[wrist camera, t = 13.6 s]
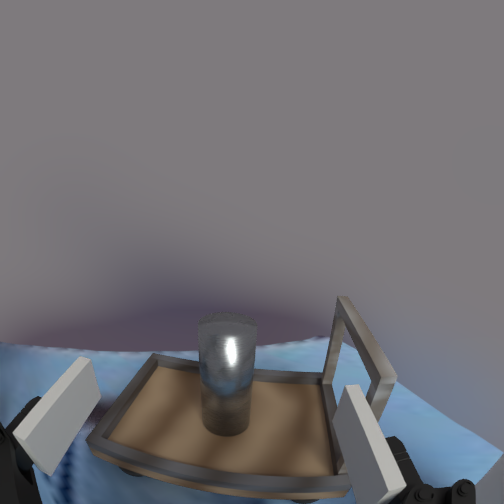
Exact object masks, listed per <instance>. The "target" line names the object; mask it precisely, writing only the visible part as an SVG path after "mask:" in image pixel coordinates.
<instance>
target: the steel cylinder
mask: <svg viewBox="0 0 504 504" xmlns="http://www.w3.org/2000/svg"><path fill="white" fill-rule="evenodd" d="M256 335H257V323H256V322H255V320H253V319H252V318H250V317H248V316H246V315H243V314H238V313H231V312H221V313H220V312H219V313H213V314H209V315H206V316H204V317H202V318H201V319H200V320H199V322H198V340H199V370H200V389H201V406H202V420H203V425H204V426H205V428H206V429H207V430H208V431H209V432H211V433H213V434H215V435H218V436H223V437H231V436H236V435H239V434H241V433H243V432H244V431H245V430H246V429H247V428H248V426H249V423H250V412H251V400H252V388H253V375H254V363H255V350H256Z"/></svg>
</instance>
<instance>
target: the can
mask: <svg viewBox="0 0 504 504" xmlns="http://www.w3.org/2000/svg"><path fill="white" fill-rule="evenodd" d="M475 489H476V504H504V454H503V455H502V456H501V457H500V458H499V460H498V461H497V462H496V463H495V464H494V466H493V467H492V468H491V469H490V470H489V471H488V472H487V473H486V474H485V476H484V477H483V478H482V479H481V480H480V481H479V482H478V483H477V484H476V485H475Z"/></svg>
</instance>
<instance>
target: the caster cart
mask: <svg viewBox="0 0 504 504" xmlns="http://www.w3.org/2000/svg"><path fill="white" fill-rule="evenodd" d="M345 326H346V328H347V330H348V332H349V334H350V335H351V338H352V340H353V342H354V344H355V346H356V348H357V351H358V353H359V355H360V357H361V359H362V361H363V363H364V366H365V368H366V370H367V372H368V374H369V377H370V379H371V384H370V387H369V390H368V392H367V395H366V400H367V402H368V404H369V406H370V408H371V410H372V412H373V414H374V416H375V419H376V421H377V423H378V421H379V419H380V417H381V415H382V413H383V411H384V408H385V406H386V404H387V401H388V399H389V397H390V394H391V392H392V389H393V387H394V384H395V382H396V379H397V374H396V372H395V371H394V369H393V367H392V366H391V364H390V363H389V361H388V359H387V358H386V356H385V354H384V353H383V351H382V349H381V348H380V346H379V344H378V343H377V341H376V340H375V338H374V336H373V335H372V333H371V332H370V330H369V329H368V327H367V325H366V324H365V322H364V321H363V319H362V318H361V316H360V315H359V313H358V311H357V310H356V309H355V307H354V305H353V304H352V302H351V301H350V300H349V298H348V297H345V296H337V302H336V308H335V315H334V320H333V325H332V331H331V336H330V341H329V346H328V351H327V355H326V360H325V365H324V369H323V373H320V372H293V371H277V370H264V369H254V375H253V388H252V400H251V412H250V423H249V426H248V428H247V429H246V430H245V431H244V432H243V433H241V434H239V435H236V436H231V437H223V436H218V435H215V434H213V433H211V432H209V431H208V430H207V429H206V428H205V426H204V425H203V420H202V406H201V389H200V370H199V362H198V361H192V360H186V359H180V358H175V357H170V356H165V355H160V354H155V353H153V354H152V355H151V356H150V357H149V359H148V360H147V361H146V362H145V364H144V365H143V366H142V368H141V369H140V370H139V371H138V373H137V374H136V375H135V376H134V378H133V379H132V380H131V382H130V383H129V384H128V385H127V387H126V388H125V389H124V390H123V392H122V393H121V394H120V396H119V397H118V398H117V399H116V401H115V402H114V403H113V405H112V406H111V407H110V409H109V410H108V411H107V412H106V414H105V415H104V416H103V418H102V419H101V420H100V421H99V423H98V424H97V425H96V427H95V428H94V429H93V431H92V432H91V433H90V435H89V436H88V437H87V439H86V442H87V444H88V446H89V448H90V449H91V451H92V453H93V455H94V456H96V457H98V458H101V459H103V460H105V461H107V462H110V463H112V464H115V465H117V466H119V468H120V469H121V470H122V471H124V472H125V473H127V474H129V475H132V476H144V475H145V476H148V477H151V478H154V479H157V480H161V481H164V482H168V483H172V484H176V485H179V486H184V487H188V488H192V489H197V490H202V491H207V492H213V493H219V494H225V495H233V496H241V497H251V498H264V499H290V500H292V501H294V502H296V503H300V504H308V503H313V502H315V501H317V500H319V499H325V498H338V497H344V496H345V495H346V494H347V492H348V491H349V489H350V488H351V486H352V485H351V482H350V478H349V475H348V472H347V468H346V465H345V461H344V458H343V455H342V452H341V448H340V445H339V442H338V439H337V435H336V432H335V429H334V426H333V422H332V420H333V418H334V415H335V412H336V410H337V404H336V400H335V396H334V392H333V388H332V381H333V377H334V374H335V370H336V366H337V361H338V357H339V353H340V349H341V344H342V340H343V335H344V330H345Z"/></svg>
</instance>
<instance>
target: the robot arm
mask: <svg viewBox="0 0 504 504" xmlns="http://www.w3.org/2000/svg"><path fill="white" fill-rule="evenodd" d="M100 398H101V394H100V390H99V387H98V384H97V380H96V377H95V373H94V369H93V365H92V361H91V359H88V358H84V357H81V356H80V357H79V358H78V359H77V360H76V361H75V362H74V363H73V364H72V365H71V366H70V367H69V368H68V370H67V371H66V372H65V373H64V374H63V375H62V376H61V377H60V378H59V379H58V380H57V382H56V383H55V384H54V385H53V386H52V387H51V388H50V389H49V391H48V392H47V393H46V394H45V395H44V396H43V397H42V398H41V397H39V396H37V397H35V398H33V399H32V400H30V401H29V402H28V403H27V404H26V406H25V408H23V409H22V410H21V412H19V414H18V415H17V416H16V417H15V418H14V419H13V420H12V422H11V423H10V424H9V425H8V426H7V427H6V429H4V427H3V426H2V424H1V422H0V504H42V501H41V498H40V494H39V490H38V486H37V482H36V478H35V474H34V470H33V468H32V465H33V463H34V464H35V465H36V466H37V468H38V469H39V470H41V471H42V472H44V473H46V474H48V475H49V476H52V474H53V473H54V471H55V469H56V468H57V466H58V464H59V463H60V461H61V459H62V458H63V456H64V454H65V453H66V451H67V449H68V448H69V446H70V445H71V443H72V441H73V440H74V438H75V437H76V435H77V433H78V432H79V430H80V429H81V427H82V426H83V424H84V423H85V421H86V419H87V418H88V416H89V415H90V413H91V412H92V410H93V409H94V407H95V406H96V404H97V403H98V401H99V400H100ZM332 422H333V426H334V429H335V432H336V435H337V439H338V442H339V445H340V448H341V452H342V455H343V458H344V461H345V465H346V468H347V472H348V475H349V478H350V482H351V485H352V489H353V492H354V496H355V499H356V503H357V504H476V489H475V485H474V484H473V483H472V482H471V481H470V480H467V479H462V480H459V481H457V482H456V483H455V484H454V485H453V486H452V487H444V488H433V487H432V486H430V485H428V484H424V483H423V482H422V480H421V479H420V477H419V475H418V473H417V471H416V469H415V467H414V465H413V463H412V461H411V459H410V457H409V455H408V453H407V452H406V449H405V447H404V445H403V443H402V442H401V441H400V440H399V439H398V438H396V437H395V436H393V437H388V438H385V437H384V435H383V433H382V431H381V429H380V427H379V425H378V423H377V421H376V419H375V416H374V414H373V412H372V410H371V408H370V406H369V404H368V402H367V400H366V398H365V396H364V394H363V392H362V390H361V388H360V386H359V385H345V387H344V390H343V393H342V396H341V399H340V401H339V404H338V407H337V410H336V412H335V415H334V418H333V420H332Z"/></svg>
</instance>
